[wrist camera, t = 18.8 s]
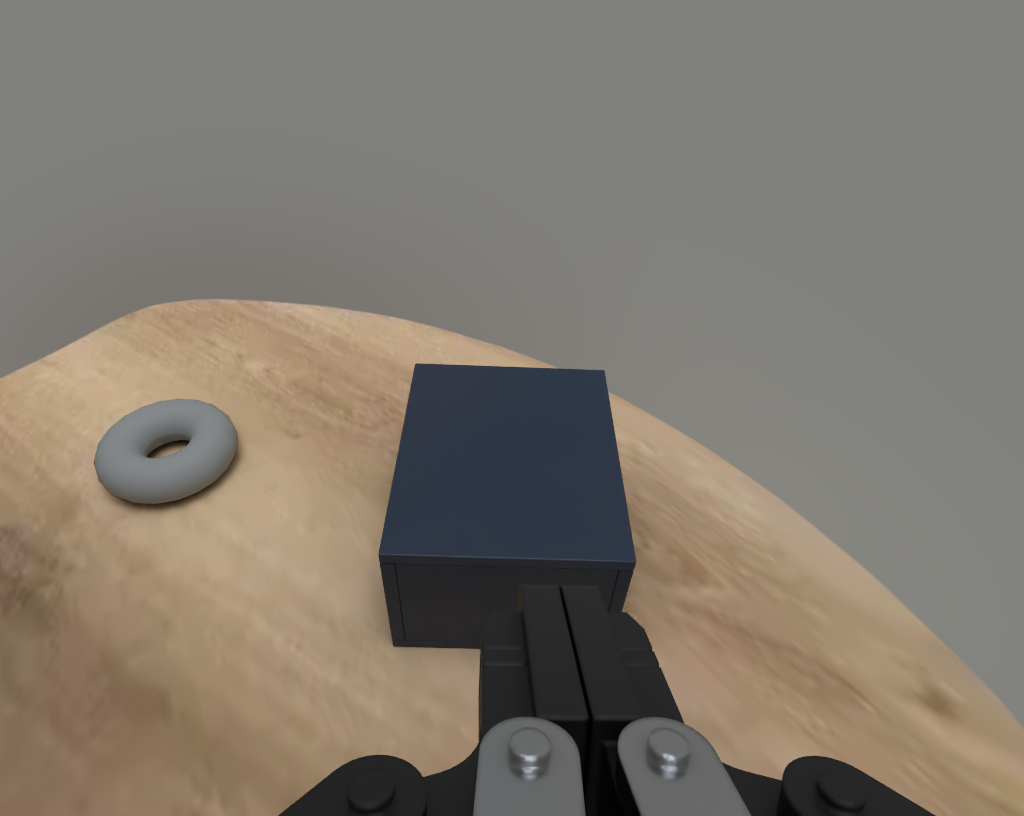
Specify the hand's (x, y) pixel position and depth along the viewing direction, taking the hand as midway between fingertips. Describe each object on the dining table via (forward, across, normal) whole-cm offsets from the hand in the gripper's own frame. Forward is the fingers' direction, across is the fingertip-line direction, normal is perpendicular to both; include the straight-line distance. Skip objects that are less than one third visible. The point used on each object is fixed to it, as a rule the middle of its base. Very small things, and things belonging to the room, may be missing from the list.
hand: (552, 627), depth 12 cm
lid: (+27, -1, +6) cm, 28 cm away
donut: (+38, +25, +11) cm, 47 cm away
